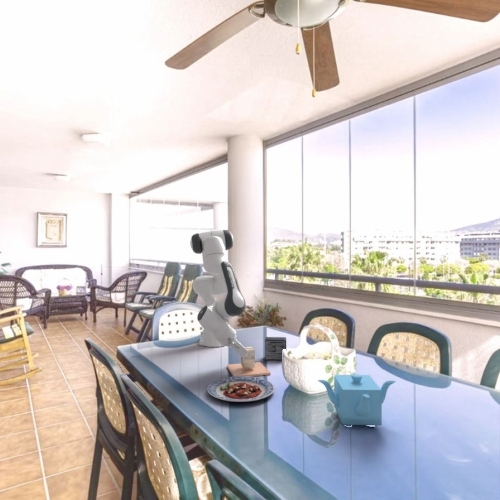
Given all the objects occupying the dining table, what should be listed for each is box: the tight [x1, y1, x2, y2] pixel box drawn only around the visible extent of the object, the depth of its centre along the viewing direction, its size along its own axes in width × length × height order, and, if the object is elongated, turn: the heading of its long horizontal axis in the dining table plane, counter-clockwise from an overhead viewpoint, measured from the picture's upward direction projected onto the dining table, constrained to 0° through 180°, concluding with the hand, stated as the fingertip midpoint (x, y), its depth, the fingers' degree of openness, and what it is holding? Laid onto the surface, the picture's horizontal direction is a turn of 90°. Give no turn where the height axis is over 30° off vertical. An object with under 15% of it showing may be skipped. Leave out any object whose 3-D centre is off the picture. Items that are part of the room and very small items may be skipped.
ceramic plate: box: [207, 376, 276, 403], centre depth 150 cm, size 26×26×3 cm
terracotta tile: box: [226, 361, 271, 377], centre depth 176 cm, size 16×16×1 cm
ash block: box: [240, 346, 256, 368], centre depth 176 cm, size 5×5×8 cm
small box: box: [264, 336, 287, 362], centre depth 194 cm, size 11×6×10 cm, turn 84°
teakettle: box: [317, 373, 397, 426], centre depth 126 cm, size 19×19×15 cm
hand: (248, 356), depth 176 cm, fingers closed on ash block, 5 cm apart
